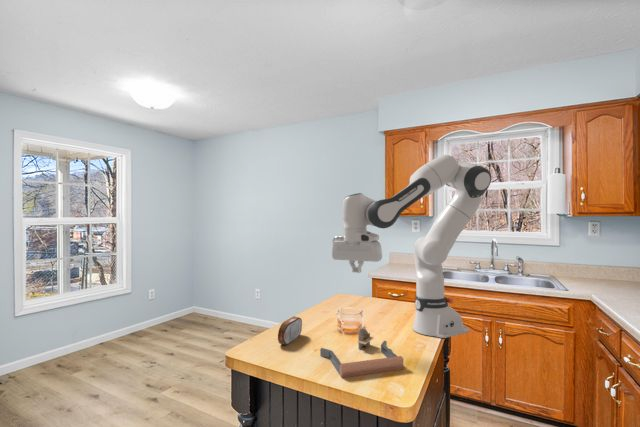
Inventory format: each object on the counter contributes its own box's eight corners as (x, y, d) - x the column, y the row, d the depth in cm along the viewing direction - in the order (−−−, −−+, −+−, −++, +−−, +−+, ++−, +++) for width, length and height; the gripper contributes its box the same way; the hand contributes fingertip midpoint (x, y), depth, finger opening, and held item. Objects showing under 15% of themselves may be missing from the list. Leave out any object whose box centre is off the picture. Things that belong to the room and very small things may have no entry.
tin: (296, 333, 133) (296, 313, 133) (303, 335, 132) (303, 314, 132) (277, 347, 120) (276, 324, 120) (284, 348, 118) (284, 325, 118)
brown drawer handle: (385, 347, 119) (385, 337, 119) (409, 368, 103) (409, 357, 103) (319, 355, 113) (319, 345, 113) (334, 378, 96) (334, 367, 96)
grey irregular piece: (373, 347, 120) (373, 327, 120) (365, 353, 114) (365, 332, 115) (365, 345, 122) (365, 325, 122) (356, 351, 116) (356, 330, 116)
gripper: (328, 236, 128) (329, 271, 127) (375, 236, 116) (377, 275, 115) (336, 235, 133) (338, 269, 133) (383, 235, 121) (384, 272, 121)
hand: (356, 272), depth 124 cm, fingers closed
